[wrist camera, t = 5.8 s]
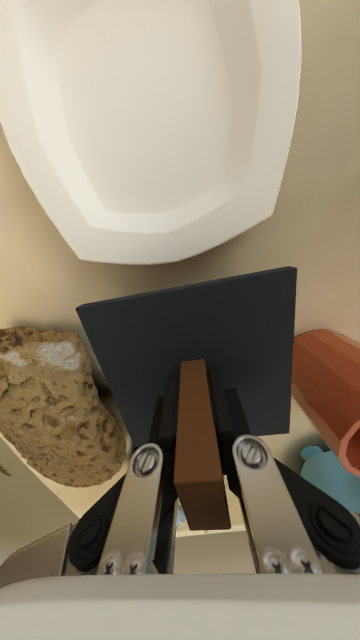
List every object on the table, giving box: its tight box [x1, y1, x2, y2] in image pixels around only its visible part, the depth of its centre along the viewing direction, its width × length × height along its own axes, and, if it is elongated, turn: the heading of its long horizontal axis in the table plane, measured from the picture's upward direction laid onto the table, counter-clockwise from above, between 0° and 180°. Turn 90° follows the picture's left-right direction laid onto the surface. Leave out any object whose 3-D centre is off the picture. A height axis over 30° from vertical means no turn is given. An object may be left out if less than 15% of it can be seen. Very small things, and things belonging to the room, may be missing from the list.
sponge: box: [0, 326, 126, 487], centre depth 19 cm, size 13×8×20 cm
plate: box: [0, 0, 302, 265], centre depth 12 cm, size 19×19×2 cm
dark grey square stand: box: [76, 266, 297, 531], centre depth 9 cm, size 12×12×7 cm
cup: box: [291, 330, 360, 477], centre depth 16 cm, size 8×8×9 cm
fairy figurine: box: [176, 497, 207, 535], centre depth 28 cm, size 12×5×12 cm
